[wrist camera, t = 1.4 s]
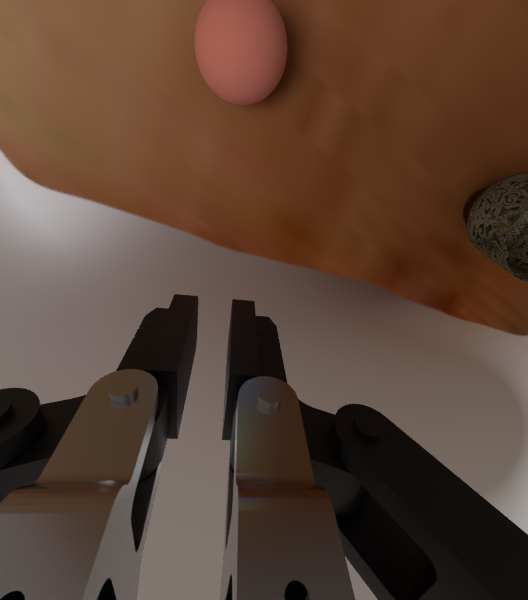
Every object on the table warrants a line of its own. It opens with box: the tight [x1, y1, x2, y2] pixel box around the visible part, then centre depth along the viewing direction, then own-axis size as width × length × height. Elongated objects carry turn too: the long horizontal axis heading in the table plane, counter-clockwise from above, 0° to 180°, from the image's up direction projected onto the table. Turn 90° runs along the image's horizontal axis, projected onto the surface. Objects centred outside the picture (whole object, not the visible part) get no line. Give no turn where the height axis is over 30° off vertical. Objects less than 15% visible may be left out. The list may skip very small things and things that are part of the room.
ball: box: [194, 0, 288, 105], centre depth 18 cm, size 6×6×6 cm
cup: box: [463, 173, 528, 281], centre depth 23 cm, size 8×7×8 cm
